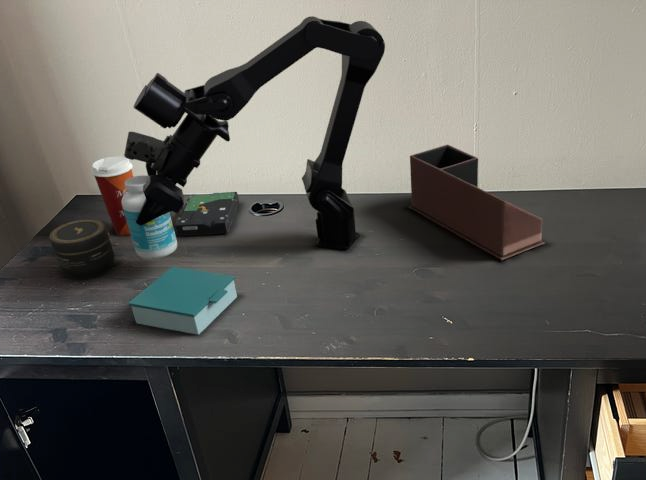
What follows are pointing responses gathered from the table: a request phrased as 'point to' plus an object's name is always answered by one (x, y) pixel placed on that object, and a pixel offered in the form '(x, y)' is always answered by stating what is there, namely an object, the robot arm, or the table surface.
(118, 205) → the paper cup
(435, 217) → the desk organizer
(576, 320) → the table surface
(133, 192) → the pill bottle
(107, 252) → the jar
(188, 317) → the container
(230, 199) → the disk drive
